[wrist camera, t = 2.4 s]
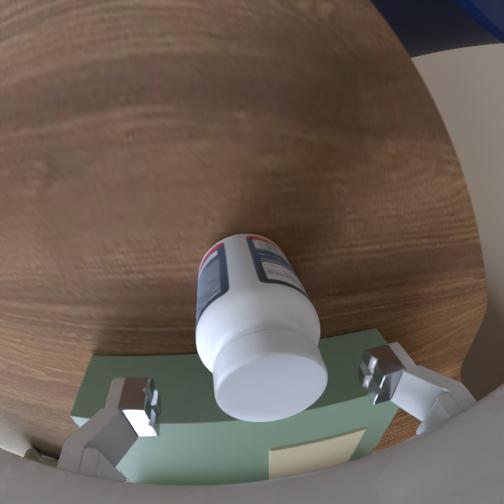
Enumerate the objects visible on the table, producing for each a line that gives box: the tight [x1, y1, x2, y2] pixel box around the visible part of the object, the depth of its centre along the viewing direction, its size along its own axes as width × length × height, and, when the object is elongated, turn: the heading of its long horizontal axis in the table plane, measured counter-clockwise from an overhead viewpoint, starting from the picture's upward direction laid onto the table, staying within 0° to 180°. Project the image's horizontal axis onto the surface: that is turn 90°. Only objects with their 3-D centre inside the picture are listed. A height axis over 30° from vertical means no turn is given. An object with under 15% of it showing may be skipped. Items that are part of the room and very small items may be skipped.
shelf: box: [70, 328, 399, 486], centre depth 17 cm, size 14×22×11 cm, turn 92°
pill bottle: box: [196, 234, 328, 422], centre depth 13 cm, size 5×5×9 cm
